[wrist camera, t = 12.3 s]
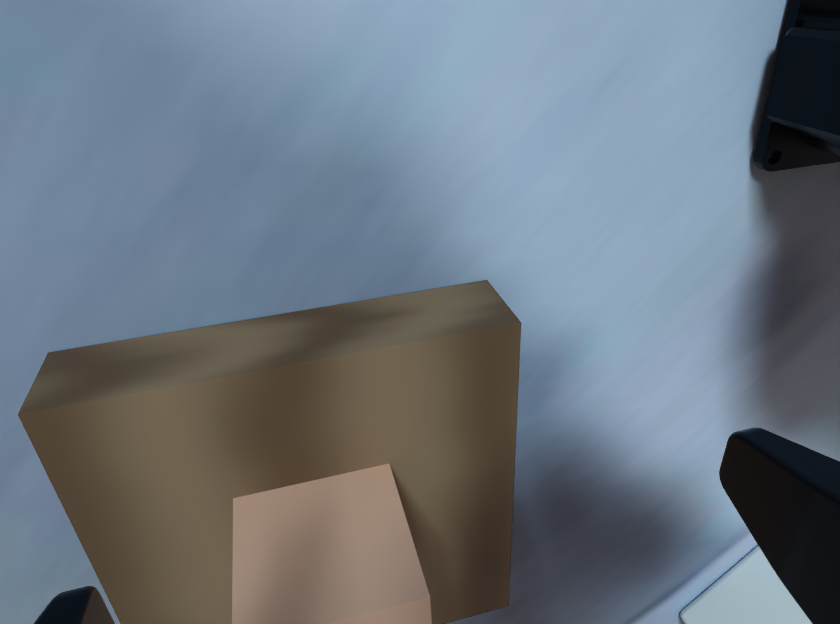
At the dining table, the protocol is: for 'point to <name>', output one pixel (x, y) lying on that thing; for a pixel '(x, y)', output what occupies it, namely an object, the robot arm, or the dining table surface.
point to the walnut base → (286, 441)
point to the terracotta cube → (327, 554)
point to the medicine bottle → (746, 597)
